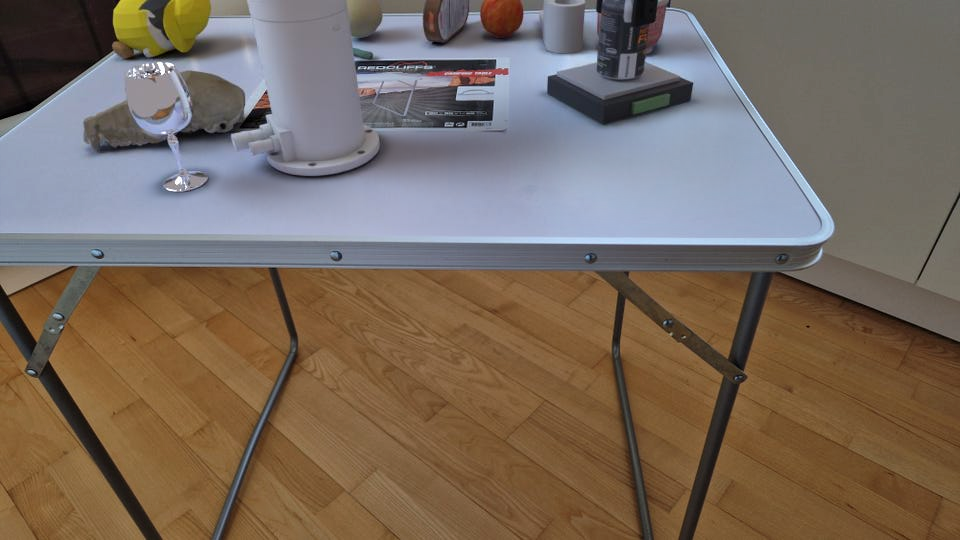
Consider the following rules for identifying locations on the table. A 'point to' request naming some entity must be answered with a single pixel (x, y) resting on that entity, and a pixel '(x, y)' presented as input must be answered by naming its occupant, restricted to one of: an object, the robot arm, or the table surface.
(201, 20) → the toy
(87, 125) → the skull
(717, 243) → the table surface
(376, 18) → the potato
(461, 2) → the tin
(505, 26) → the fruit
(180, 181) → the wineglass
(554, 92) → the scale
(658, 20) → the container
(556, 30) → the grey hollow cylinder
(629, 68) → the pill bottle
